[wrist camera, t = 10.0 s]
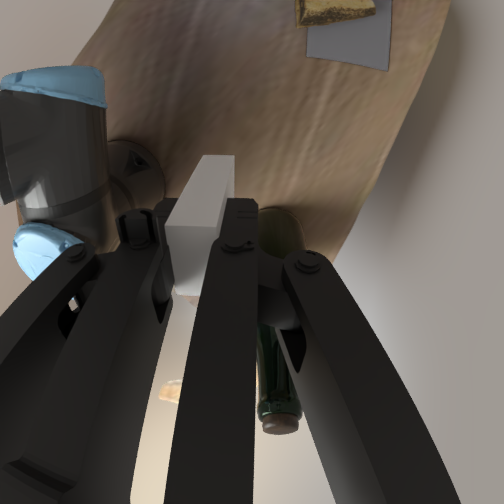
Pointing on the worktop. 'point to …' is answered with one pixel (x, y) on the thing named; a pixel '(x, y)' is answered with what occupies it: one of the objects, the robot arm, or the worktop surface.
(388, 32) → the mat
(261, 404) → the dark green wine bottle
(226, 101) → the worktop surface
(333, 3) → the yellow wedge
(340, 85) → the worktop surface
